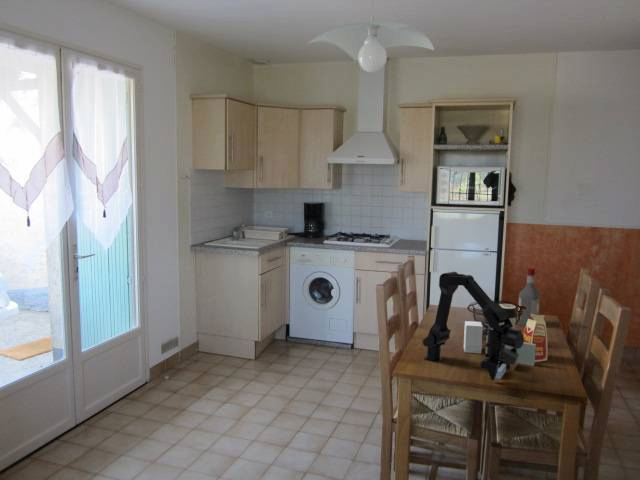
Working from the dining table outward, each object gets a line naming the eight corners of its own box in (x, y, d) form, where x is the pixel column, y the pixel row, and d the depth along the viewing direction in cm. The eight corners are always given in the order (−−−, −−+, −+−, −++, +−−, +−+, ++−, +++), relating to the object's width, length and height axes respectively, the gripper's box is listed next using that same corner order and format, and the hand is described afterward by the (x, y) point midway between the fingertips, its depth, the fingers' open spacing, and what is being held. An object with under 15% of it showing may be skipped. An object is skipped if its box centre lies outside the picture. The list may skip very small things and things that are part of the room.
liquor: (516, 324, 275) (519, 268, 271) (521, 320, 282) (524, 266, 278) (534, 327, 270) (538, 271, 265) (538, 323, 277) (542, 268, 273)
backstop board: (533, 366, 218) (535, 345, 217) (485, 356, 229) (486, 336, 227) (534, 364, 220) (535, 344, 218) (486, 355, 230) (487, 335, 229)
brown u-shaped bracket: (513, 370, 213) (514, 359, 212) (493, 366, 217) (494, 355, 216) (517, 365, 219) (517, 354, 218) (497, 361, 223) (498, 350, 222)
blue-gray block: (500, 379, 205) (500, 371, 204) (492, 377, 206) (492, 370, 206) (505, 372, 212) (506, 364, 212) (497, 370, 214) (498, 362, 213)
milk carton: (531, 362, 222) (534, 317, 219) (517, 354, 231) (520, 311, 228) (549, 360, 225) (552, 315, 222) (535, 353, 233) (538, 309, 231)
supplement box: (481, 353, 232) (483, 326, 230) (464, 352, 233) (465, 325, 231) (480, 348, 239) (481, 321, 237) (463, 347, 240) (464, 320, 239)
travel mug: (503, 338, 252) (505, 302, 250) (517, 343, 246) (520, 306, 243) (492, 341, 248) (494, 305, 245) (506, 346, 241) (509, 309, 239)
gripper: (511, 352, 187) (509, 393, 189) (522, 338, 202) (520, 376, 205) (480, 346, 193) (478, 386, 195) (493, 333, 208) (491, 370, 211)
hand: (493, 379), depth 201 cm, fingers closed
